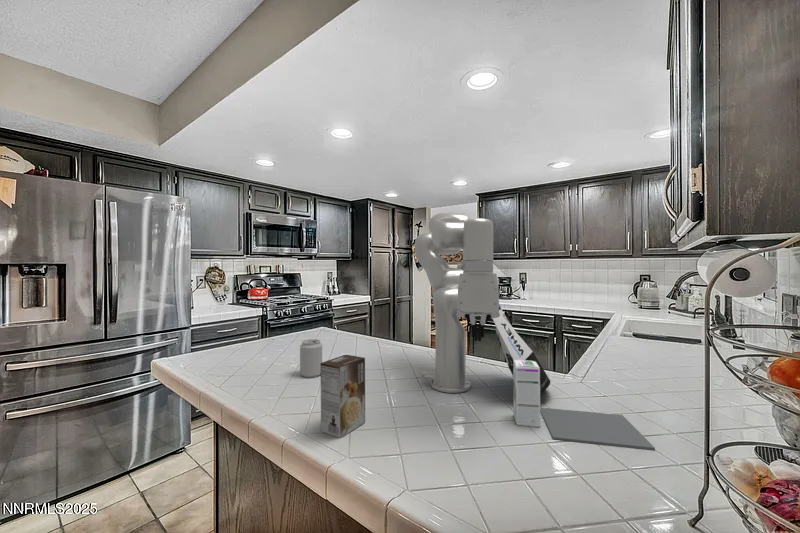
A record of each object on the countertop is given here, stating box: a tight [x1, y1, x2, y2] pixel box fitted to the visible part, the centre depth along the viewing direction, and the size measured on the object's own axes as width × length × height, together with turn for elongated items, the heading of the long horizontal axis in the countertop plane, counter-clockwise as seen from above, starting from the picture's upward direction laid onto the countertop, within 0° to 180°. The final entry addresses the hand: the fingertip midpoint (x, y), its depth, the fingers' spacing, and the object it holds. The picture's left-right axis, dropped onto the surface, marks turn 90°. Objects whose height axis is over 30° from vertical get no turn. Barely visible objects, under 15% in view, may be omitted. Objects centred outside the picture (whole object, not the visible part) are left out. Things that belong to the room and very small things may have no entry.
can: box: [299, 338, 323, 379], centre depth 118 cm, size 8×8×12 cm
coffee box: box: [320, 354, 366, 439], centre depth 81 cm, size 9×6×16 cm
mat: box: [540, 407, 656, 451], centre depth 81 cm, size 20×16×1 cm
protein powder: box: [492, 304, 552, 395], centre depth 105 cm, size 10×24×30 cm, turn 158°
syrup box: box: [512, 360, 541, 428], centre depth 84 cm, size 6×6×14 cm
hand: (477, 339), depth 86 cm, fingers closed
